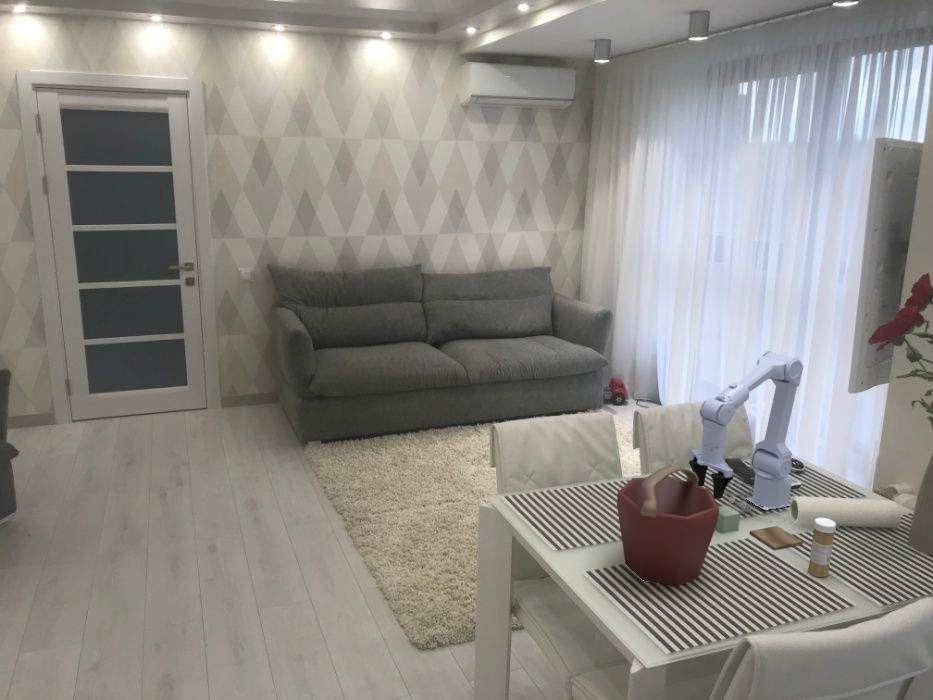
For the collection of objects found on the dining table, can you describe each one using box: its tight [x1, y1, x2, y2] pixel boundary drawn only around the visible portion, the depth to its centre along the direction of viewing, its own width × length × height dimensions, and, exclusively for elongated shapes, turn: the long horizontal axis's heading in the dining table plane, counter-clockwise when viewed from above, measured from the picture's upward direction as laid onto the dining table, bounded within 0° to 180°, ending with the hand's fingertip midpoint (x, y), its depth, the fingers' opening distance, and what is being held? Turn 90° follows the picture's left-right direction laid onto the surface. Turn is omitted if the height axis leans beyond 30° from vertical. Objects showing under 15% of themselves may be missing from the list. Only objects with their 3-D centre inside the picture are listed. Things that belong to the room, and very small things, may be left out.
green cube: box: [715, 505, 741, 534], centre depth 197 cm, size 5×5×5 cm
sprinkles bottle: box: [807, 517, 837, 578], centre depth 174 cm, size 5×5×13 cm
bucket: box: [616, 464, 720, 588], centre depth 175 cm, size 24×22×25 cm
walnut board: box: [749, 525, 804, 551], centre depth 192 cm, size 9×9×1 cm
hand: (708, 492), depth 198 cm, fingers open, 7 cm apart
